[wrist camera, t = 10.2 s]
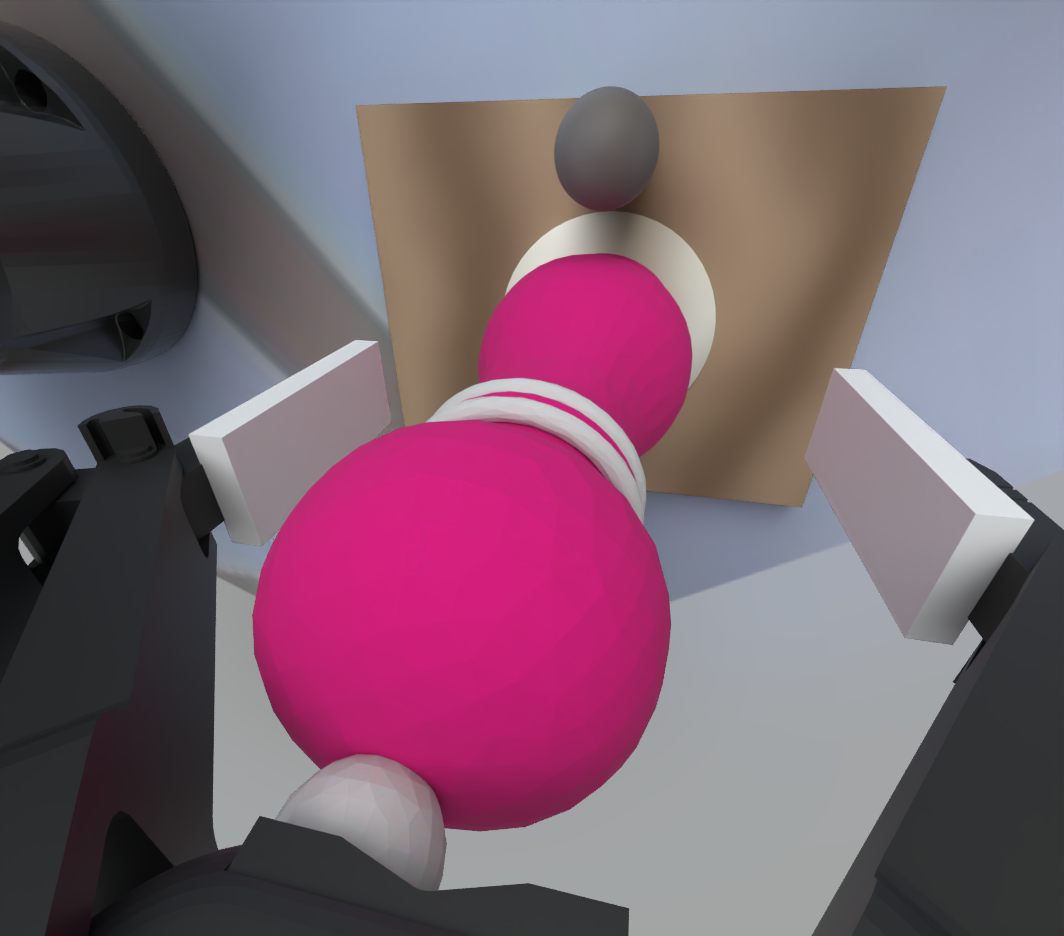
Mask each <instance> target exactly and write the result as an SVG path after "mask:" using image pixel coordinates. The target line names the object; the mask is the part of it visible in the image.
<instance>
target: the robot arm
mask: <svg viewBox="0 0 1064 936" xmlns="http://www.w3.org/2000/svg"><path fill="white" fill-rule="evenodd" d="M196 292H197V267H196V259H195V252H194V246H193V242H192V237H191V233H190V229H189V226H188V223H187V219H186V216H185V214H184V211H183V208H182V205H181V203H180V200H179V198H178V195H177V193H176V191H175V189H174V186H173V184H172V182H171V180H170V178H169V176H168V174H167V172H166V170H165V168H164V166H163V165H162V163H161V161H160V159H159V158H158V156H157V154H156V153H155V151H154V149H153V148H152V146H151V145H150V143H149V142H148V140H147V138H146V137H145V135H144V134H143V133H142V131H141V130H140V128H139V127H138V126H137V124H136V123H135V122H134V120H133V119H132V118H131V116H130V115H129V114H128V113H127V111H126V110H125V109H124V108H123V107H122V105H121V104H120V103H119V102H118V101H117V100H116V99H115V97H114V96H113V95H112V94H111V93H110V92H109V91H108V90H107V89H106V88H105V87H104V86H103V85H102V84H101V83H100V82H99V81H98V80H97V79H96V78H95V77H94V76H93V75H92V74H91V73H90V72H88V71H87V70H86V69H85V68H84V67H83V66H81V65H80V64H79V63H78V62H76V61H75V60H74V59H73V58H71V57H70V56H69V55H67V54H66V53H65V52H63V51H62V50H60V49H59V48H57V47H56V46H54V45H53V44H51V43H49V42H48V41H46V40H44V39H43V38H41V37H39V36H37V35H35V34H33V33H31V32H29V31H27V30H24V29H22V28H19V27H17V26H14V25H11V24H7V23H4V22H0V375H20V374H52V373H84V372H104V371H110V370H116V369H120V368H124V367H127V366H130V365H132V364H135V363H138V362H141V361H143V360H146V359H149V358H152V357H154V356H157V355H159V354H161V353H163V352H165V351H166V350H168V349H169V348H171V347H172V346H173V345H174V344H175V343H176V342H177V341H178V340H179V339H180V338H181V336H182V335H183V333H184V332H185V330H186V328H187V326H188V324H189V322H190V319H191V317H192V314H193V310H194V306H195V301H196ZM390 423H391V416H390V410H389V404H388V398H387V392H386V386H385V380H384V374H383V368H382V362H381V356H380V350H379V344H378V341H361V340H355V341H353V342H351V343H349V344H348V345H346V346H344V347H342V348H341V349H339V350H337V351H335V352H334V353H332V354H330V355H328V356H326V357H325V358H323V359H321V360H319V361H318V362H316V363H314V364H312V365H310V366H309V367H307V368H305V369H303V370H302V371H300V372H298V373H296V374H295V375H293V376H291V377H289V378H287V379H286V380H284V381H282V382H280V383H279V384H277V385H275V386H273V387H271V388H270V389H268V390H266V391H264V392H263V393H261V394H259V395H257V396H255V397H254V398H252V399H250V400H248V401H247V402H245V403H243V404H241V405H240V406H238V407H236V408H234V409H232V410H231V411H229V412H227V413H225V414H224V415H222V416H220V417H218V418H216V419H215V420H213V421H211V422H209V423H208V424H206V425H204V426H202V427H200V428H199V429H197V430H195V431H193V432H192V433H190V434H188V435H189V438H187V439H185V440H184V441H182V442H180V443H178V444H177V445H175V446H174V445H173V442H172V440H171V438H170V435H169V433H168V431H167V428H166V426H165V424H164V421H163V419H162V417H161V414H160V412H159V410H158V408H156V407H153V406H140V405H139V406H129V407H122V408H118V409H113V410H109V411H106V412H103V413H100V414H96V415H94V416H92V417H90V418H88V419H86V420H84V421H83V422H81V423H80V424H79V425H78V428H79V430H80V432H81V433H82V435H83V437H84V439H85V441H86V443H87V445H88V446H89V448H90V450H91V452H92V454H93V456H94V458H95V460H96V461H97V465H96V467H95V468H88V469H74V467H73V465H72V464H71V462H70V460H69V458H68V456H67V455H66V453H65V452H64V450H60V449H56V448H51V449H38V450H24V451H20V452H16V453H13V454H10V455H8V456H6V457H5V458H3V459H2V460H0V936H628V926H629V924H628V923H629V908H625V907H621V906H617V905H613V904H609V903H605V902H601V901H597V900H593V899H589V898H585V897H581V896H577V895H573V894H569V893H565V892H561V891H557V890H553V889H549V888H545V887H541V886H537V885H533V884H529V883H527V884H515V885H502V886H490V887H478V888H465V889H453V890H439V891H424V890H420V889H417V888H415V887H414V886H412V885H411V884H409V883H408V882H406V881H405V880H403V879H402V878H400V877H399V876H398V875H396V874H395V873H393V872H392V871H390V870H389V869H387V868H386V867H385V866H383V865H382V864H380V863H379V862H377V861H376V860H374V859H373V858H372V857H370V856H369V855H367V854H366V853H364V852H363V851H361V850H360V849H359V848H357V847H356V846H354V845H353V844H351V843H350V842H348V841H347V840H346V839H344V838H343V837H341V836H338V835H334V834H330V833H326V832H322V831H318V830H314V829H310V828H306V827H302V826H298V825H294V824H290V823H286V822H282V821H278V820H274V819H270V818H266V817H262V816H259V818H258V820H257V821H256V823H255V825H254V826H253V828H252V830H251V831H250V833H249V835H248V836H247V838H246V840H245V841H244V843H243V844H242V845H239V846H234V847H230V848H225V849H221V850H218V848H217V844H216V841H215V837H214V830H213V817H212V814H213V810H212V809H213V751H214V689H215V625H216V623H215V622H216V566H217V544H216V542H215V539H214V537H213V535H212V532H211V531H212V530H213V529H214V528H215V527H217V526H218V525H219V524H220V523H221V522H223V521H224V523H225V525H226V528H227V530H228V533H229V535H230V538H231V540H232V542H235V543H242V544H249V545H256V546H263V545H264V544H265V543H266V542H267V541H268V540H269V539H270V538H271V537H272V536H273V535H274V534H275V533H276V532H277V531H279V530H280V529H281V527H282V525H283V524H284V522H285V521H286V519H287V518H288V516H289V515H290V513H291V512H292V510H293V509H294V507H295V506H296V505H297V504H298V502H299V501H300V500H301V499H302V497H303V496H304V495H305V494H306V492H307V491H308V490H309V489H310V488H311V487H312V486H313V485H314V484H315V483H316V482H317V481H318V480H319V479H320V478H321V477H322V476H323V475H324V474H325V473H326V472H327V471H328V470H329V469H330V468H331V467H332V466H333V465H335V464H336V463H337V462H339V461H340V460H341V459H343V458H344V457H345V456H347V455H348V454H349V453H351V452H352V451H354V450H355V449H356V448H358V447H359V446H361V445H363V444H365V443H368V442H370V441H372V440H373V439H374V438H375V437H376V436H377V435H378V434H379V433H380V432H381V431H382V430H383V429H384V428H385V427H387V426H388V425H389V424H390ZM804 459H805V460H806V462H807V464H808V466H809V468H810V469H811V471H812V473H813V475H814V476H815V478H816V480H817V482H818V484H819V485H820V487H821V489H822V491H823V493H824V494H825V496H826V498H827V500H828V502H829V503H830V505H831V507H832V509H833V511H834V512H835V514H836V516H837V518H838V519H839V521H840V523H841V525H842V527H843V528H844V530H845V532H846V534H847V536H848V537H849V539H850V541H851V543H852V545H853V546H854V548H855V550H856V552H857V553H858V555H859V557H860V559H861V561H862V562H863V564H864V566H865V568H866V570H867V571H868V573H869V575H870V577H871V579H872V580H873V582H874V584H875V586H876V587H877V589H878V591H879V593H880V595H881V597H882V598H883V600H884V602H885V604H886V605H887V607H888V609H889V611H890V612H891V614H892V616H893V618H894V620H895V622H896V623H897V625H898V627H899V629H900V631H901V632H902V634H903V636H904V638H908V639H915V640H922V641H929V642H936V643H943V644H950V645H953V644H954V642H955V641H956V639H957V638H958V636H959V634H960V633H961V631H962V630H963V628H964V627H965V625H966V624H967V622H968V621H969V620H970V622H971V623H972V624H973V626H974V627H975V628H976V630H977V631H978V633H979V634H980V635H981V636H982V638H983V639H982V641H981V642H980V644H979V645H978V647H977V648H976V649H975V651H974V652H973V654H972V655H971V657H970V658H969V659H968V661H967V662H966V664H965V665H964V667H963V668H962V670H961V671H960V673H959V674H958V675H957V677H956V678H955V680H954V681H953V682H954V683H955V685H954V687H953V689H952V691H951V692H950V694H949V696H948V698H947V700H946V701H945V703H944V705H943V706H942V708H941V710H940V712H939V714H938V715H937V717H936V719H935V720H934V722H933V724H932V726H931V727H930V729H929V731H928V733H927V734H926V736H925V738H924V740H923V742H922V743H921V745H920V747H919V748H918V750H917V752H916V754H915V756H914V757H913V759H912V761H911V762H910V764H909V766H908V768H907V769H906V771H905V773H904V775H903V776H902V778H901V780H900V782H899V784H898V785H897V787H896V789H895V791H894V792H893V794H892V796H891V798H890V799H889V801H888V803H887V805H886V806H885V808H884V810H883V812H882V814H881V815H880V817H879V819H878V820H877V822H876V824H875V826H874V827H873V829H872V831H871V833H870V834H869V836H868V838H867V840H866V841H865V843H864V845H863V847H862V848H861V850H860V852H859V854H858V855H857V857H856V859H855V861H854V863H853V864H852V866H851V868H850V870H849V871H848V873H847V875H846V876H845V879H844V880H843V882H842V884H841V885H840V887H839V889H838V891H837V892H836V894H835V896H834V897H833V899H832V901H831V903H830V905H829V906H828V908H827V910H826V912H825V914H824V915H823V917H822V919H821V920H820V922H819V924H818V926H817V927H816V929H815V931H814V933H813V934H812V936H1064V530H1063V529H1062V528H1061V527H1060V526H1058V525H1057V524H1056V523H1055V522H1054V521H1052V520H1051V519H1050V518H1049V517H1048V516H1046V515H1045V514H1044V513H1043V512H1042V511H1041V510H1039V509H1038V508H1037V507H1036V506H1035V505H1034V504H1032V503H1030V502H1027V500H1028V499H1026V498H1025V497H1024V496H1023V495H1022V494H1021V493H1019V492H1018V491H1017V490H1013V487H1012V486H1011V485H1010V484H1009V483H1008V482H1007V481H1005V480H1004V479H1003V478H1002V477H1001V476H999V475H998V474H997V473H996V472H994V471H992V470H990V469H988V468H987V467H985V466H983V465H981V464H979V463H977V462H975V461H973V460H971V459H968V458H964V457H963V456H962V455H961V454H960V453H959V452H958V451H956V450H955V449H954V448H953V447H952V446H951V445H950V444H949V443H947V442H946V441H945V440H944V439H943V438H942V437H941V436H939V435H938V434H937V433H936V432H935V431H934V430H933V429H932V428H930V427H929V426H928V425H927V424H926V423H925V422H924V421H923V420H921V419H920V418H919V417H918V416H917V415H916V414H915V413H914V412H912V411H911V410H910V409H909V408H908V407H907V406H906V405H905V404H903V403H902V402H901V401H900V400H899V399H898V398H897V397H895V396H894V395H893V394H892V393H891V392H890V391H889V390H888V389H886V388H885V387H884V386H883V385H882V384H881V383H880V382H879V381H877V380H876V379H875V378H874V377H873V376H872V375H871V374H870V373H868V372H867V371H866V370H859V369H842V368H834V369H833V372H832V375H831V378H830V381H829V384H828V387H827V390H826V393H825V396H824V399H823V403H822V406H821V409H820V412H819V415H818V418H817V421H816V424H815V427H814V430H813V433H812V436H811V439H810V442H809V445H808V448H807V452H806V455H805V458H804ZM19 537H20V538H21V540H22V541H23V543H24V544H25V546H26V547H27V548H28V550H29V552H30V553H31V554H32V556H33V557H34V560H33V561H32V562H31V563H30V564H29V565H27V564H26V563H25V561H24V560H23V558H22V556H21V554H20V551H19V549H18V546H19Z"/></svg>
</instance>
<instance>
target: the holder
mask: <svg viewBox="0 0 1064 936" xmlns="http://www.w3.org/2000/svg"><path fill="white" fill-rule="evenodd" d="M946 87H947V86H945V87H914V88H883V89H851V90H820V91H789V92H757V93H726V94H695V95H664V96H638V95H636V94H635V93H633V92H631V91H629V90H627V89H624V88H620V87H602V88H598V89H595V90H593V91H590V92H588V93H587V94H585V95H583V96H582V97H581V98H570V99H538V100H507V101H476V102H445V103H413V104H382V105H356V112H357V118H358V125H359V131H360V138H361V144H362V151H363V157H364V164H365V170H366V177H367V183H368V190H369V196H370V203H371V210H372V216H373V223H374V229H375V236H376V242H377V249H378V255H379V262H380V268H381V275H382V281H383V288H384V295H385V301H386V308H387V314H388V321H389V327H390V334H391V340H392V347H393V353H394V360H395V366H396V373H397V380H398V386H399V393H400V399H401V406H402V412H403V419H404V425H405V427H407V426H412V425H416V424H421V423H425V422H426V421H427V420H428V419H430V418H431V417H432V416H433V415H434V414H435V412H436V411H437V410H438V409H439V408H440V407H441V406H442V405H443V404H444V403H445V402H446V401H447V400H449V399H450V398H451V397H453V396H454V395H456V394H457V393H459V392H461V391H463V390H465V389H466V388H469V387H471V386H473V385H476V384H479V377H478V361H479V353H480V348H481V344H482V340H483V337H484V333H485V330H486V326H487V324H488V322H489V320H490V318H491V316H492V314H493V312H494V310H495V308H496V307H497V306H498V304H499V303H500V302H501V300H502V299H503V298H504V297H505V295H506V294H507V293H508V292H509V291H510V289H511V288H512V287H513V286H514V285H515V284H516V283H517V282H518V281H519V280H520V279H521V278H523V277H524V276H525V275H526V274H528V273H529V272H531V271H532V270H534V269H535V268H537V267H538V266H540V265H543V264H545V263H547V262H550V261H552V260H554V259H557V258H562V257H566V256H570V255H579V254H596V253H609V254H617V255H621V256H625V257H628V258H630V259H633V260H635V261H637V262H639V263H640V264H642V265H644V266H645V267H647V268H648V269H649V270H650V271H651V272H653V273H654V274H655V275H656V276H657V278H658V279H659V280H660V281H661V282H662V284H663V285H664V287H665V288H666V289H667V290H668V291H669V293H670V294H671V295H672V297H673V298H674V300H675V301H676V302H677V304H678V305H679V307H680V309H681V312H682V314H683V316H684V318H685V320H686V322H687V326H688V330H689V333H690V337H691V344H692V368H691V376H690V382H689V386H688V390H687V394H686V398H685V402H684V404H683V406H682V408H681V410H680V411H679V413H678V415H677V417H676V419H675V421H674V422H673V424H672V426H671V427H670V428H669V429H668V431H667V432H666V433H665V435H664V436H663V437H662V438H661V439H660V440H659V441H658V442H657V443H656V445H655V446H654V447H653V448H651V449H650V450H649V451H647V452H646V453H645V454H643V455H642V456H641V457H639V459H640V462H641V465H642V468H643V471H644V475H645V480H646V491H651V492H661V493H671V494H680V495H690V496H699V497H709V498H718V499H728V500H738V501H747V502H757V503H766V504H776V505H785V506H795V507H802V506H803V503H804V500H805V497H806V494H807V491H808V488H809V486H810V483H811V480H812V477H813V473H812V471H811V469H810V468H809V466H808V464H807V462H806V460H805V459H804V458H805V455H806V452H807V448H808V445H809V442H810V439H811V436H812V433H813V430H814V427H815V424H816V421H817V418H818V415H819V412H820V409H821V406H822V403H823V399H824V396H825V393H826V390H827V387H828V384H829V381H830V378H831V375H832V372H833V369H834V368H842V369H850V366H851V363H852V361H853V358H854V355H855V352H856V349H857V346H858V343H859V340H860V337H861V334H862V331H863V329H864V326H865V323H866V320H867V317H868V314H869V311H870V308H871V305H872V302H873V299H874V297H875V294H876V291H877V288H878V285H879V282H880V279H881V276H882V273H883V270H884V268H885V265H886V262H887V259H888V256H889V253H890V250H891V247H892V244H893V241H894V238H895V236H896V233H897V230H898V227H899V224H900V221H901V218H902V215H903V212H904V209H905V206H906V204H907V201H908V198H909V195H910V192H911V189H912V186H913V183H914V180H915V177H916V174H917V172H918V169H919V166H920V163H921V160H922V157H923V154H924V151H925V148H926V145H927V143H928V140H929V137H930V134H931V131H932V128H933V125H934V122H935V119H936V116H937V113H938V111H939V108H940V105H941V102H942V99H943V96H944V93H945V90H946Z"/></svg>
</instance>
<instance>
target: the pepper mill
mask: <svg viewBox="0 0 1064 936" xmlns="http://www.w3.org/2000/svg"><path fill="white" fill-rule="evenodd" d="M691 368H692V344H691V337H690V333H689V330H688V326H687V322H686V320H685V318H684V316H683V314H682V312H681V309H680V307H679V305H678V304H677V302H676V301H675V300H674V298H673V297H672V295H671V294H670V293H669V291H668V290H667V289H666V288H665V287H664V285H663V284H662V282H661V281H660V280H659V279H658V278H657V276H656V275H655V274H654V273H653V272H651V271H650V270H649V269H648V268H647V267H645V266H644V265H642V264H640V263H639V262H637V261H635V260H633V259H630V258H628V257H625V256H621V255H617V254H609V253H596V254H579V255H570V256H566V257H562V258H557V259H554V260H552V261H550V262H547V263H545V264H543V265H540V266H538V267H537V268H535V269H534V270H532V271H531V272H529V273H528V274H526V275H525V276H524V277H523V278H521V279H520V280H519V281H518V282H517V283H516V284H515V285H514V286H513V287H512V288H511V289H510V291H509V292H508V293H507V294H506V295H505V297H504V298H503V299H502V300H501V302H500V303H499V304H498V306H497V307H496V308H495V310H494V312H493V314H492V316H491V318H490V320H489V322H488V324H487V326H486V330H485V333H484V337H483V340H482V344H481V348H480V353H479V361H478V377H479V384H476V385H473V386H471V387H469V388H466V389H465V390H463V391H461V392H459V393H457V394H456V395H454V396H453V397H451V398H450V399H449V400H447V401H446V402H445V403H444V404H443V405H442V406H441V407H440V408H439V409H438V410H437V411H436V412H435V414H434V415H433V416H432V417H431V418H430V419H428V420H427V421H426V422H425V423H421V424H416V425H412V426H407V427H403V428H399V429H397V430H395V431H392V432H390V433H388V434H386V435H383V436H381V437H379V438H377V439H374V440H372V441H370V442H368V443H365V444H363V445H361V446H359V447H358V448H356V449H355V450H354V451H352V452H351V453H349V454H348V455H347V456H345V457H344V458H343V459H341V460H340V461H339V462H337V463H336V464H335V465H333V466H332V467H331V468H330V469H329V470H328V471H327V472H326V473H325V474H324V475H323V476H322V477H321V478H320V479H319V480H318V481H317V482H316V483H315V484H314V485H313V486H312V487H311V488H310V489H309V490H308V491H307V492H306V494H305V495H304V496H303V497H302V499H301V500H300V501H299V502H298V504H297V505H296V506H295V507H294V509H293V510H292V512H291V513H290V515H289V516H288V518H287V519H286V521H285V522H284V524H283V525H282V527H281V529H280V531H279V533H278V535H277V537H276V539H275V540H274V542H273V544H272V546H271V548H270V551H269V553H268V555H267V558H266V560H265V562H264V565H263V567H262V569H261V574H260V579H259V585H258V590H257V595H256V600H255V605H254V610H253V615H252V616H253V635H254V655H255V658H256V661H257V664H258V667H259V671H260V674H261V677H262V680H263V683H264V686H265V689H266V692H267V695H268V698H269V700H270V703H271V706H272V708H273V711H274V713H275V714H276V716H277V717H278V719H279V720H280V722H281V723H282V725H283V726H284V728H285V729H286V731H287V733H288V734H289V736H290V737H291V739H292V740H293V741H294V742H295V743H296V744H297V745H298V746H299V748H301V750H302V751H303V752H304V753H305V754H306V755H307V756H308V757H309V758H310V759H311V760H312V761H313V762H314V763H315V764H316V765H317V766H318V767H319V768H320V769H321V770H319V771H318V772H317V773H315V774H314V775H313V776H312V777H311V778H310V779H309V780H307V781H306V782H305V783H304V784H303V785H302V786H300V787H299V788H298V789H297V790H296V791H295V792H294V793H292V794H291V795H290V797H289V798H288V800H287V801H286V803H285V804H284V806H283V808H282V809H281V811H280V812H279V814H278V815H277V817H276V818H275V820H278V821H282V822H286V823H290V824H294V825H298V826H302V827H306V828H310V829H314V830H318V831H322V832H326V833H330V834H334V835H338V836H341V837H343V838H344V839H346V840H347V841H348V842H350V843H351V844H353V845H354V846H356V847H357V848H359V849H360V850H361V851H363V852H364V853H366V854H367V855H369V856H370V857H372V858H373V859H374V860H376V861H377V862H379V863H380V864H382V865H383V866H385V867H386V868H387V869H389V870H390V871H392V872H393V873H395V874H396V875H398V876H399V877H400V878H402V879H403V880H405V881H406V882H408V883H409V884H411V885H412V886H414V887H415V888H417V889H420V890H424V891H438V889H439V886H440V883H441V879H442V876H443V869H444V860H445V852H446V837H445V830H444V828H450V829H460V830H472V831H488V830H498V829H509V828H519V827H526V826H529V825H531V824H534V823H537V822H539V821H541V820H544V819H547V818H549V817H552V816H554V815H557V814H559V813H561V812H564V811H567V810H569V809H571V808H572V807H574V806H575V805H577V804H578V803H579V802H581V801H582V800H583V799H585V798H586V797H587V796H589V795H590V794H591V793H593V792H594V791H596V790H597V789H598V788H600V787H601V786H602V785H603V784H604V783H605V782H606V781H607V780H608V779H609V778H610V777H611V776H613V775H614V774H615V773H616V771H618V770H619V769H620V768H621V767H622V765H623V764H624V763H625V761H626V760H627V759H628V758H629V756H630V755H631V754H632V752H633V751H634V750H635V749H636V747H637V745H638V743H639V741H640V739H641V737H642V735H643V733H644V731H645V729H646V727H647V725H648V722H649V721H650V719H651V716H652V714H653V712H654V710H655V708H656V705H657V701H658V698H659V695H660V691H661V687H662V684H663V679H664V673H665V667H666V661H667V656H668V650H669V640H670V629H671V619H670V605H669V594H668V590H667V587H666V583H665V579H664V575H663V572H662V568H661V564H660V560H659V557H658V553H657V549H656V546H655V544H654V542H653V540H652V539H651V537H650V536H649V534H648V532H647V531H646V529H645V527H644V513H645V506H646V480H645V475H644V471H643V468H642V465H641V462H640V459H639V457H641V456H642V455H643V454H645V453H646V452H647V451H649V450H650V449H651V448H653V447H654V446H655V445H656V443H657V442H658V441H659V440H660V439H661V438H662V437H663V436H664V435H665V433H666V432H667V431H668V429H669V428H670V427H671V426H672V424H673V422H674V421H675V419H676V417H677V415H678V413H679V411H680V410H681V408H682V406H683V404H684V402H685V398H686V394H687V390H688V386H689V382H690V376H691Z"/></svg>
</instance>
